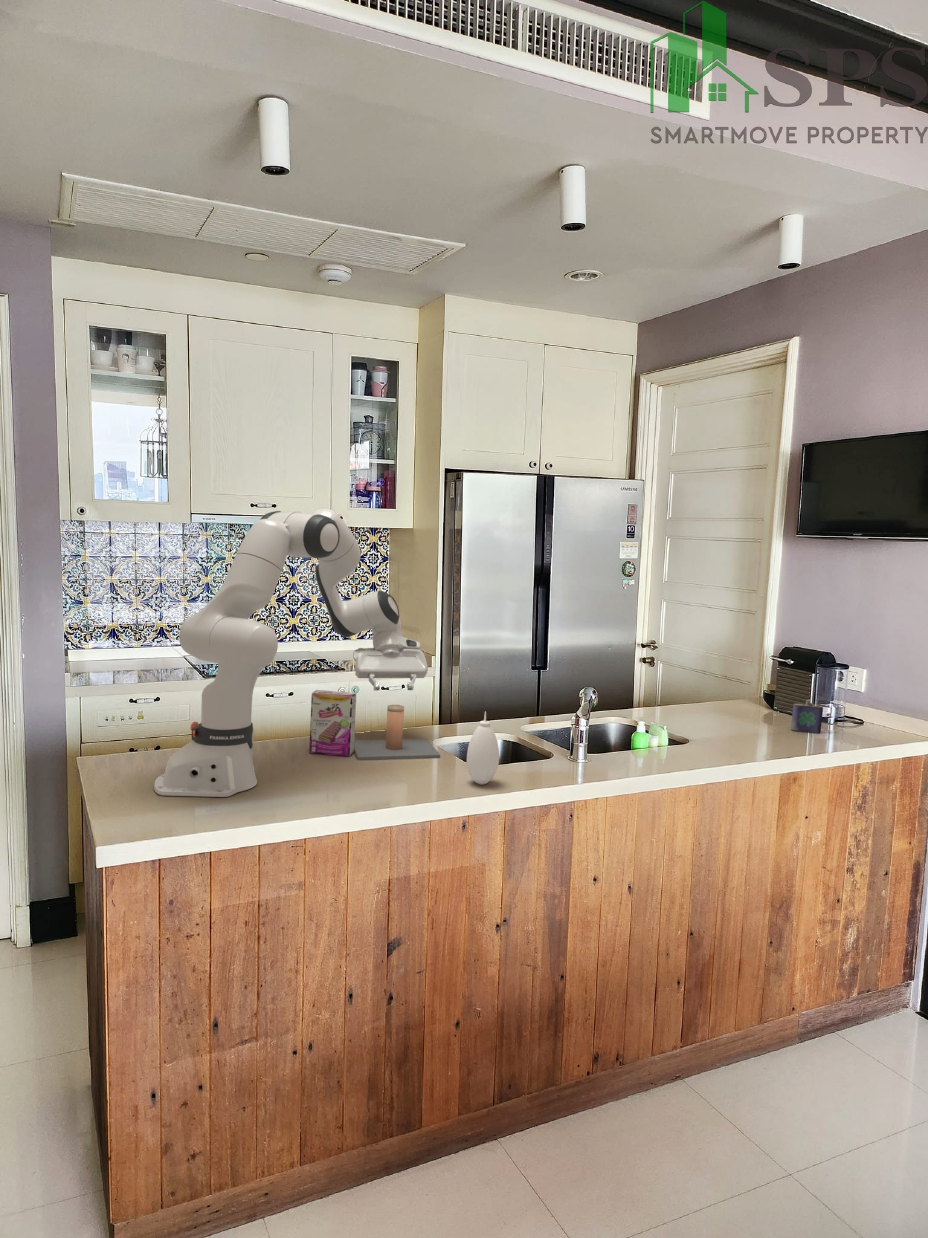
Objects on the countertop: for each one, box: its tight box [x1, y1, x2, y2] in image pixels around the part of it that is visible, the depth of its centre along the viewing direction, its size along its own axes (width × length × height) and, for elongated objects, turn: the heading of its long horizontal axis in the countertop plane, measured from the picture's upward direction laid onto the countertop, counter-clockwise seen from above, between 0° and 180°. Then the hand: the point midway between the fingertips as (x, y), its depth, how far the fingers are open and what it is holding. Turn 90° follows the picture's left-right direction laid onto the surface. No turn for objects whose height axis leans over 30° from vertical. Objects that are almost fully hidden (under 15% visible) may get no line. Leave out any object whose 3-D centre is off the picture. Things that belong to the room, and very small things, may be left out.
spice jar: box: [385, 704, 405, 750], centre depth 226 cm, size 4×4×11 cm
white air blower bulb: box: [466, 711, 500, 785], centre depth 202 cm, size 8×8×18 cm
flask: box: [790, 699, 824, 735], centre depth 273 cm, size 9×3×11 cm, turn 76°
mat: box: [353, 738, 441, 761], centre depth 227 cm, size 22×16×1 cm
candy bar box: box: [308, 689, 357, 757], centre depth 221 cm, size 11×5×16 cm, turn 84°
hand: (393, 689), depth 230 cm, fingers open, 8 cm apart
